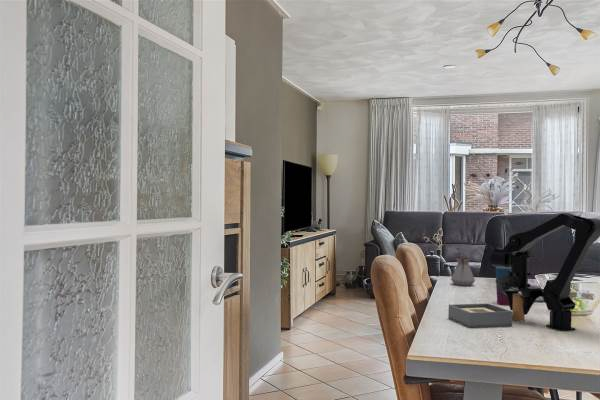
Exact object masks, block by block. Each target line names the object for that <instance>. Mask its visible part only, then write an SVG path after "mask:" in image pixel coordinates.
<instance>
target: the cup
mask: <svg viewBox="0 0 600 400" xmlns="http://www.w3.org/2000/svg"><path fill="white" fill-rule="evenodd" d="M508 271H511V266H509V267H500V266H495V281H496V280H497V279H500V278H502V277H505V276H507V275H508ZM495 284H496V283H495ZM496 303H497V305H500V306H509V303H508V300H507V297H506V295H505V294H504V293H503V292H502V291H501V289H498V288H497V284H496Z"/></svg>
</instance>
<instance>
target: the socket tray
mask: <svg viewBox="0 0 600 400" xmlns="http://www.w3.org/2000/svg"><path fill="white" fill-rule="evenodd" d="M512 315H513V310H510V309H509V310H508V309H506V308H504V307H500V306H497V305H495V304H491V303H464V304H463V303H462V304H460V303H459V304H458V303H457V304H448V316H447V317H448V320H451V321H453V322H455V323H457V324H459V323H460V325H462V326H464V327H466V326H467V328H469V329H477V328H479V329H480V328H481V329H482V328H505V327H513V319H512Z"/></svg>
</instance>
